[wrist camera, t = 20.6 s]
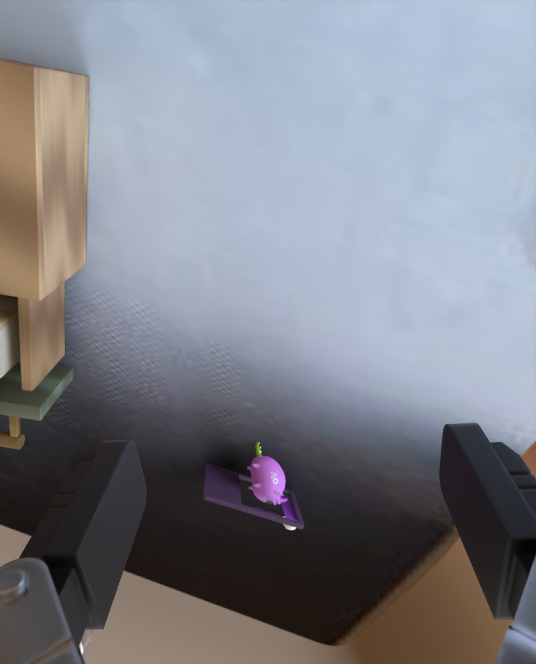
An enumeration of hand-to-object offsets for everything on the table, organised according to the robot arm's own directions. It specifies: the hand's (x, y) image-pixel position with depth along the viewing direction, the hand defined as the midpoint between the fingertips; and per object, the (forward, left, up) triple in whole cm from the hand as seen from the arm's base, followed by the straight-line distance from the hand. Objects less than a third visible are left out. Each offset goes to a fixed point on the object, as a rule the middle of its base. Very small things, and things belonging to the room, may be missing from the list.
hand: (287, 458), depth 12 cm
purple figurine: (+22, -4, -26) cm, 35 cm away
